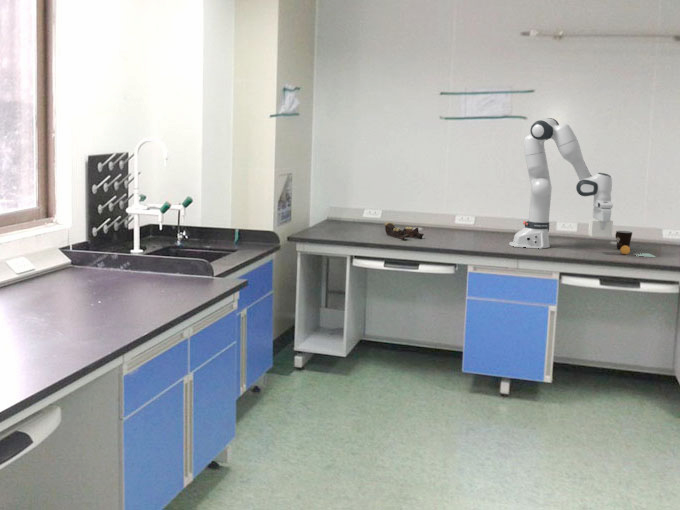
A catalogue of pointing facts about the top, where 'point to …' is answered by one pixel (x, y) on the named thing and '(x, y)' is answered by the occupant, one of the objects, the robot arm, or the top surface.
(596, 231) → the white rectangular block
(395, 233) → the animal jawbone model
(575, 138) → the robot arm
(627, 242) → the coffee mug
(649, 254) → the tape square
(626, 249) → the ball
